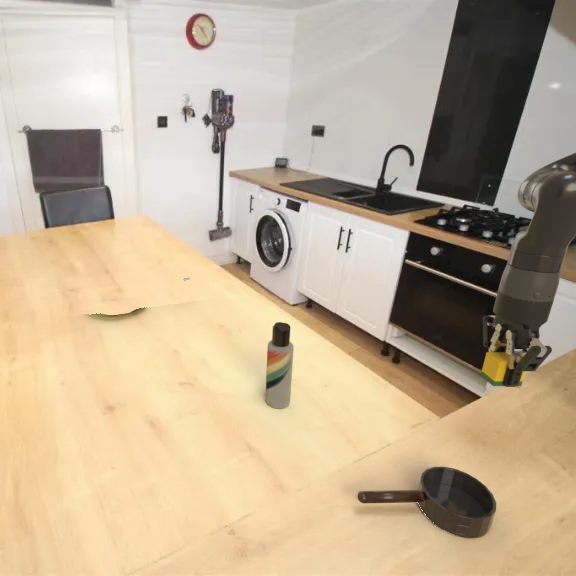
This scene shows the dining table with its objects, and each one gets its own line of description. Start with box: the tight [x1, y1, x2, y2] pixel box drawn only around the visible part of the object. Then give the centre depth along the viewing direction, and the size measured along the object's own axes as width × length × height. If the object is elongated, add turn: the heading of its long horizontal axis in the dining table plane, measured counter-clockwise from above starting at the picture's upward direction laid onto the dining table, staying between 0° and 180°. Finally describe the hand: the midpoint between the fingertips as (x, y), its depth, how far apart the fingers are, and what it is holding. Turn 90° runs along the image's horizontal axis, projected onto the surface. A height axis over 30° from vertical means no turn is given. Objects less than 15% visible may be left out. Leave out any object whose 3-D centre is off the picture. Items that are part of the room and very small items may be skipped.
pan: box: [417, 466, 497, 539], centre depth 67 cm, size 10×10×4 cm
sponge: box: [480, 351, 527, 387], centre depth 74 cm, size 5×4×5 cm
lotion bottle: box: [264, 321, 295, 410], centre depth 92 cm, size 6×6×20 cm
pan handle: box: [356, 489, 425, 504], centre depth 67 cm, size 11×2×2 cm, turn 90°
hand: (501, 378), depth 75 cm, fingers closed on sponge, 3 cm apart
